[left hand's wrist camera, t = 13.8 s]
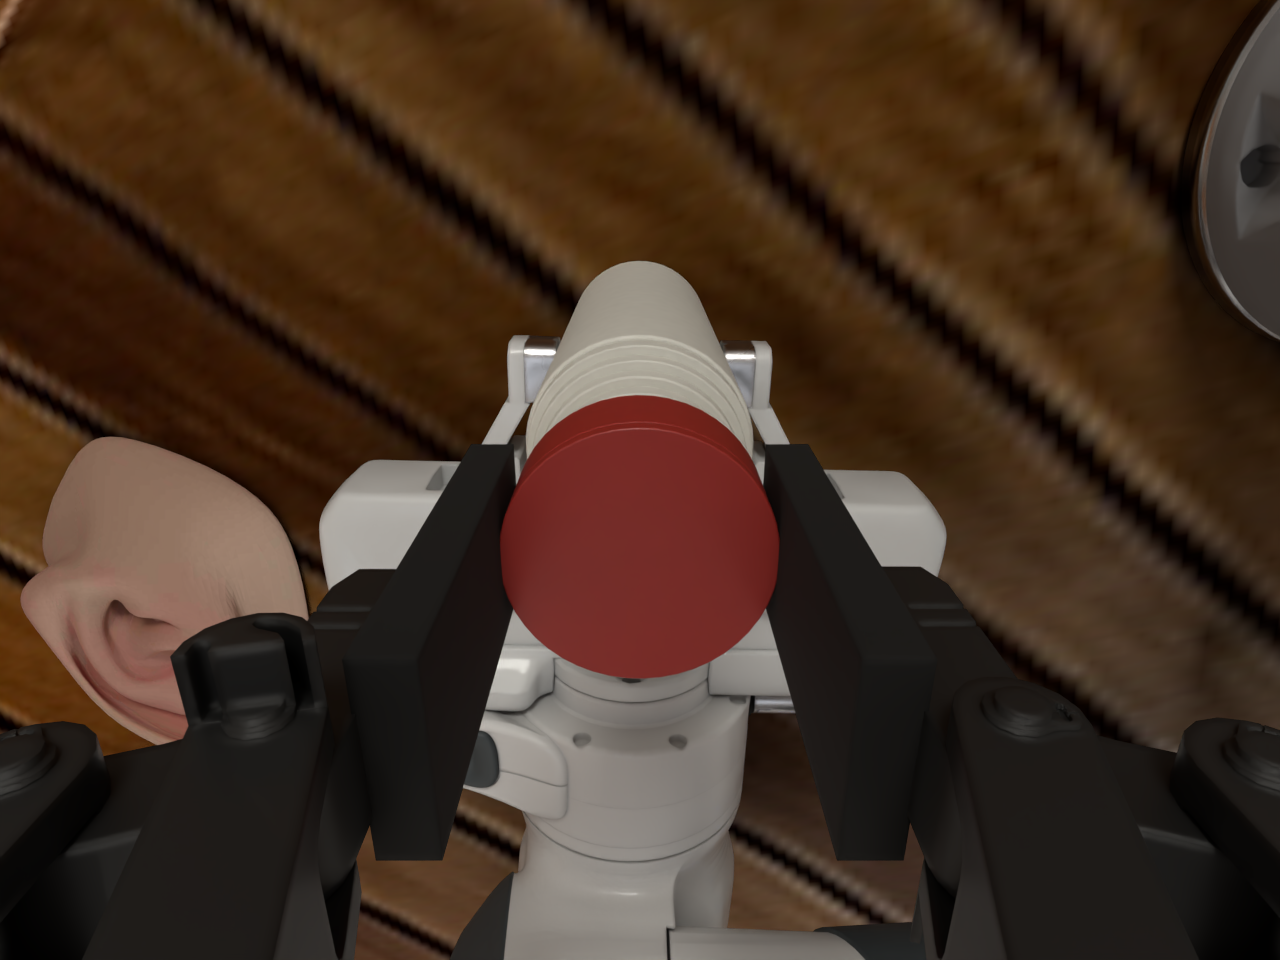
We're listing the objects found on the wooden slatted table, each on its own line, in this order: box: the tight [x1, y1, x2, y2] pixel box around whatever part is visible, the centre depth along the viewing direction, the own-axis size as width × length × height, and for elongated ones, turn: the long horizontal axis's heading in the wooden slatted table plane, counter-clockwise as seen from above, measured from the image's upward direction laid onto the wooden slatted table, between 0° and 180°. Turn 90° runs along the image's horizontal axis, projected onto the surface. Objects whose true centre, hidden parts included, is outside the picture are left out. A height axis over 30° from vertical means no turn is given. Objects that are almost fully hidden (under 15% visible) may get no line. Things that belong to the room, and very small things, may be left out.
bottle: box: [526, 261, 753, 459], centre depth 22 cm, size 5×5×19 cm
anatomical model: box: [21, 437, 309, 745], centre depth 33 cm, size 13×4×12 cm
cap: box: [500, 395, 780, 679], centre depth 13 cm, size 5×4×2 cm
